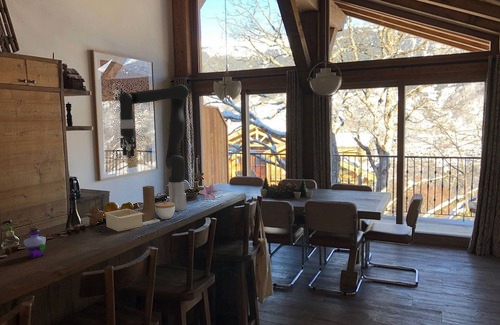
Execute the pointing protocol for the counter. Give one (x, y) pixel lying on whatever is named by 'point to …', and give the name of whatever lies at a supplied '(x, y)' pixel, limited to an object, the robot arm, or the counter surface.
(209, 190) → the lily
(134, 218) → the carton
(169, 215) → the lidded jar
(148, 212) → the wooden block
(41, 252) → the potion bottle
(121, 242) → the counter surface
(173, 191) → the robot arm
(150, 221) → the grey tile
